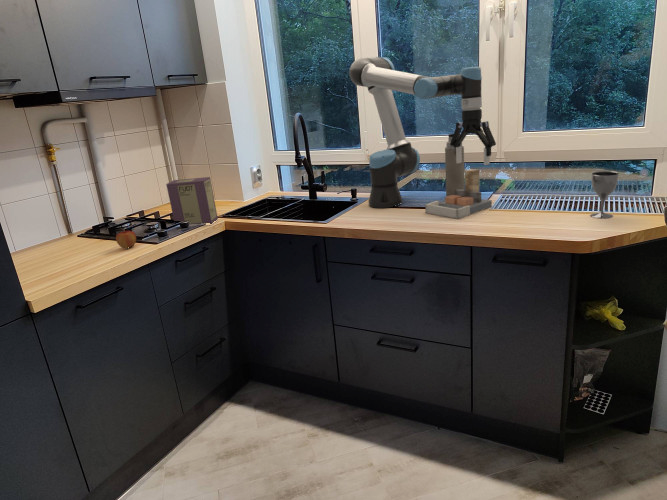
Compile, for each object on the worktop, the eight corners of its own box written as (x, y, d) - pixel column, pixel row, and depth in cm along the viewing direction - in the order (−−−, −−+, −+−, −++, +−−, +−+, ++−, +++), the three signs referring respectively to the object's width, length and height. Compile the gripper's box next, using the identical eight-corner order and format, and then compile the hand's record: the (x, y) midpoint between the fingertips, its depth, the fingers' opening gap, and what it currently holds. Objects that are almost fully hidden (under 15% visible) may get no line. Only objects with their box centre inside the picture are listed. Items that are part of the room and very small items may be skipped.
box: (218, 219, 218) (210, 176, 211) (211, 225, 209) (203, 180, 203) (183, 222, 219) (174, 180, 213) (175, 228, 211) (166, 184, 204)
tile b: (456, 204, 189) (456, 198, 188) (464, 202, 192) (464, 196, 191) (466, 206, 186) (466, 200, 185) (473, 203, 188) (473, 197, 187)
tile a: (445, 203, 194) (445, 197, 193) (452, 200, 196) (452, 194, 196) (453, 204, 190) (453, 198, 190) (461, 202, 193) (461, 196, 192)
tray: (425, 213, 192) (425, 204, 191) (437, 209, 196) (437, 200, 195) (457, 219, 180) (457, 209, 178) (469, 214, 184) (469, 205, 182)
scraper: (454, 199, 198) (454, 170, 194) (463, 196, 201) (463, 168, 197) (478, 202, 189) (478, 173, 185) (487, 199, 192) (487, 170, 188)
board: (437, 209, 196) (437, 203, 195) (459, 201, 204) (459, 195, 203) (469, 214, 184) (469, 208, 183) (491, 206, 191) (491, 200, 190)
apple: (128, 251, 183) (123, 231, 181) (114, 250, 186) (109, 231, 184) (142, 245, 190) (137, 226, 187) (128, 244, 192) (123, 226, 190)
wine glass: (611, 212, 168) (615, 170, 163) (617, 218, 161) (621, 175, 156) (586, 213, 170) (589, 171, 166) (591, 219, 163) (594, 176, 158)
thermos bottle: (449, 195, 217) (448, 133, 208) (466, 195, 213) (466, 132, 204) (443, 199, 211) (442, 135, 202) (461, 199, 207) (460, 134, 198)
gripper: (440, 111, 192) (442, 163, 198) (493, 108, 172) (493, 166, 179) (452, 109, 196) (454, 160, 202) (505, 106, 176) (505, 163, 183)
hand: (472, 163), depth 191 cm, fingers open, 13 cm apart
